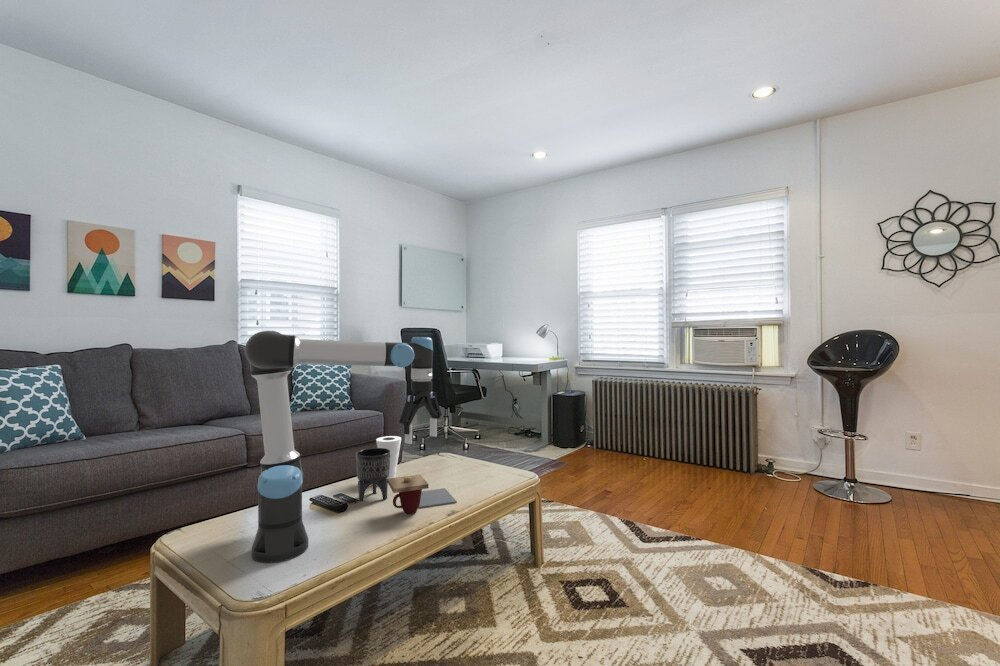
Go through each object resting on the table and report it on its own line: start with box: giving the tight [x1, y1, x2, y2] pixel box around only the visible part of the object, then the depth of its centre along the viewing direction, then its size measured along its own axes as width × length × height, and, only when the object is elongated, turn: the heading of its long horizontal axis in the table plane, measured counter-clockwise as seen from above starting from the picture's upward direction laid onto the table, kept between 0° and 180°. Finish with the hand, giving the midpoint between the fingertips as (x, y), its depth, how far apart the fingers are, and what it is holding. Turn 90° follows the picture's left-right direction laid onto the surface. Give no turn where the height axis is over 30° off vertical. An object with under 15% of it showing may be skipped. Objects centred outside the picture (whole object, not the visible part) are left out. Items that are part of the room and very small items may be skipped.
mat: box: [418, 487, 458, 509], centre depth 178 cm, size 14×16×1 cm
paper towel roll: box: [375, 435, 402, 479], centre depth 200 cm, size 11×11×18 cm
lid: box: [388, 474, 429, 494], centre depth 163 cm, size 12×12×3 cm
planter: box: [355, 447, 390, 503], centre depth 179 cm, size 13×13×18 cm
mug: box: [392, 489, 423, 515], centre depth 163 cm, size 10×8×10 cm
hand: (421, 439), depth 165 cm, fingers open, 13 cm apart
